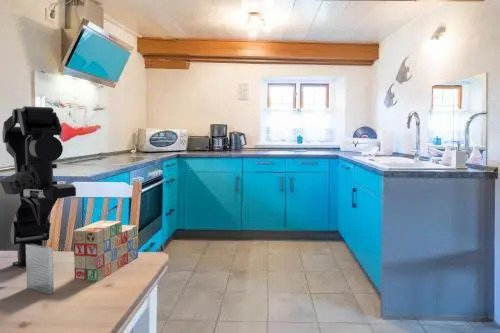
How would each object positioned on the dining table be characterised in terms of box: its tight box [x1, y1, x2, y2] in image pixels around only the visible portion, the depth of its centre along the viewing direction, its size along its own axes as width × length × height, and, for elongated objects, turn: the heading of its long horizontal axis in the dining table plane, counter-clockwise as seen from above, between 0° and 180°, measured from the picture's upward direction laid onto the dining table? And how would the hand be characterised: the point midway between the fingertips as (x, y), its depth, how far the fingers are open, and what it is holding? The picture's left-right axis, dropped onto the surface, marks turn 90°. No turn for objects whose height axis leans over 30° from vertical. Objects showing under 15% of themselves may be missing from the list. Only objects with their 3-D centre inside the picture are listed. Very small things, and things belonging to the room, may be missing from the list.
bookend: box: [25, 243, 55, 295], centre depth 94 cm, size 8×1×10 cm, turn 61°
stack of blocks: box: [73, 220, 139, 282], centre depth 111 cm, size 21×6×12 cm, turn 169°
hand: (41, 225), depth 102 cm, fingers closed
